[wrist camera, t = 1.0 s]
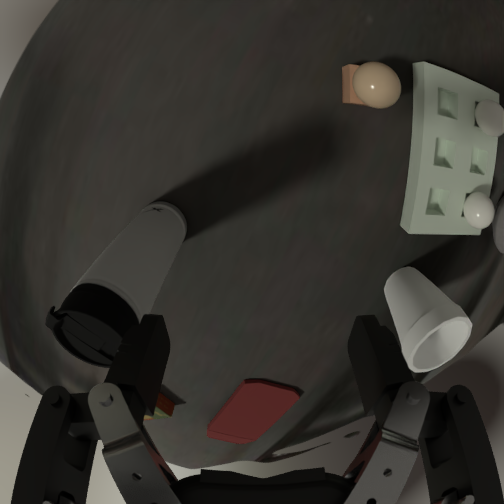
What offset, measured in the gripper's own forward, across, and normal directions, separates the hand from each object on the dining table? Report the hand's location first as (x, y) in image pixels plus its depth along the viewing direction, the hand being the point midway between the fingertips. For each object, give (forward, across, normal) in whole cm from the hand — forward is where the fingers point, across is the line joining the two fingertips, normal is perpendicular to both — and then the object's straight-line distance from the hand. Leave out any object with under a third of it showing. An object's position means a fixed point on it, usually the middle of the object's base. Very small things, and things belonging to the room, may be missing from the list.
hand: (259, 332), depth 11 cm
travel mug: (+22, +11, +5) cm, 25 cm away
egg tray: (+22, -25, -6) cm, 34 cm away
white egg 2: (+20, -29, 0) cm, 35 cm away
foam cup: (+22, -22, +14) cm, 34 cm away
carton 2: (+22, +1, +48) cm, 53 cm away
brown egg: (+20, -11, -12) cm, 26 cm away
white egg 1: (+20, -28, -12) cm, 37 cm away
